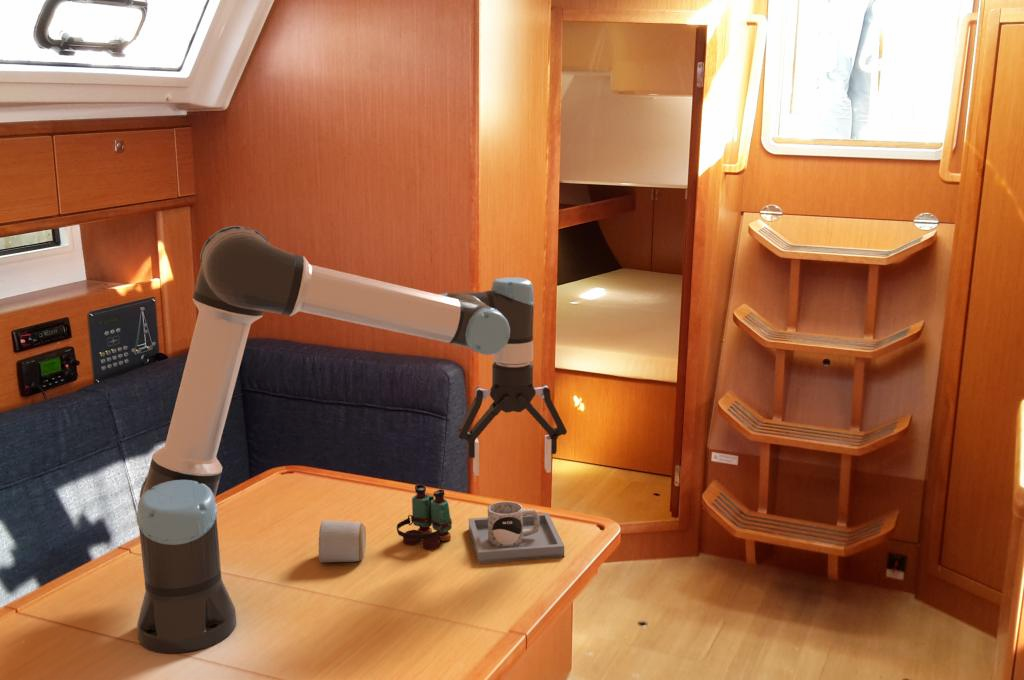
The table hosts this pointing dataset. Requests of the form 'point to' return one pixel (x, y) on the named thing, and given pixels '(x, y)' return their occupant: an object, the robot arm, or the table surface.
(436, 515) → the binoculars
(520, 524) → the mug
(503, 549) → the tray
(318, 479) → the table surface
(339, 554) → the ceramic mug
